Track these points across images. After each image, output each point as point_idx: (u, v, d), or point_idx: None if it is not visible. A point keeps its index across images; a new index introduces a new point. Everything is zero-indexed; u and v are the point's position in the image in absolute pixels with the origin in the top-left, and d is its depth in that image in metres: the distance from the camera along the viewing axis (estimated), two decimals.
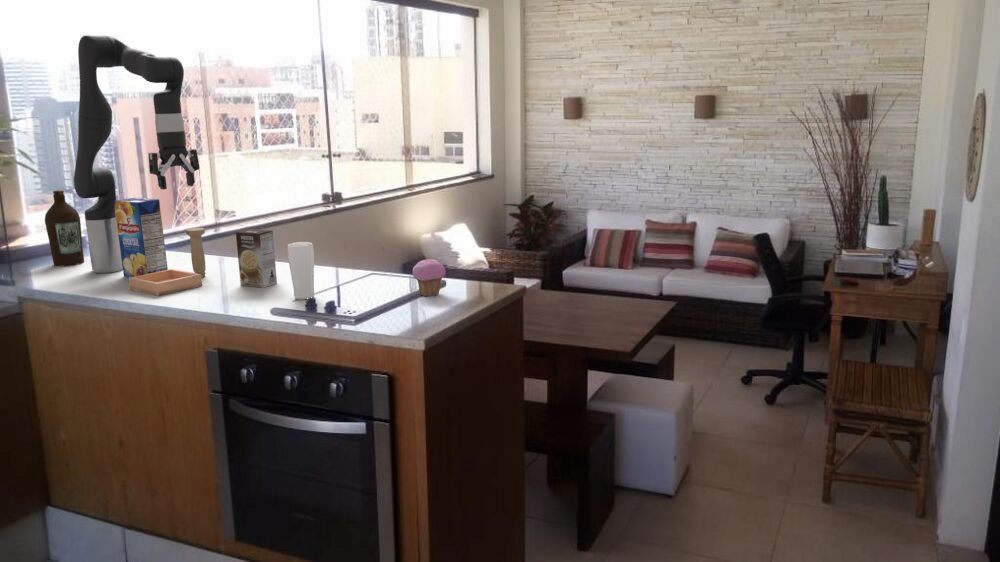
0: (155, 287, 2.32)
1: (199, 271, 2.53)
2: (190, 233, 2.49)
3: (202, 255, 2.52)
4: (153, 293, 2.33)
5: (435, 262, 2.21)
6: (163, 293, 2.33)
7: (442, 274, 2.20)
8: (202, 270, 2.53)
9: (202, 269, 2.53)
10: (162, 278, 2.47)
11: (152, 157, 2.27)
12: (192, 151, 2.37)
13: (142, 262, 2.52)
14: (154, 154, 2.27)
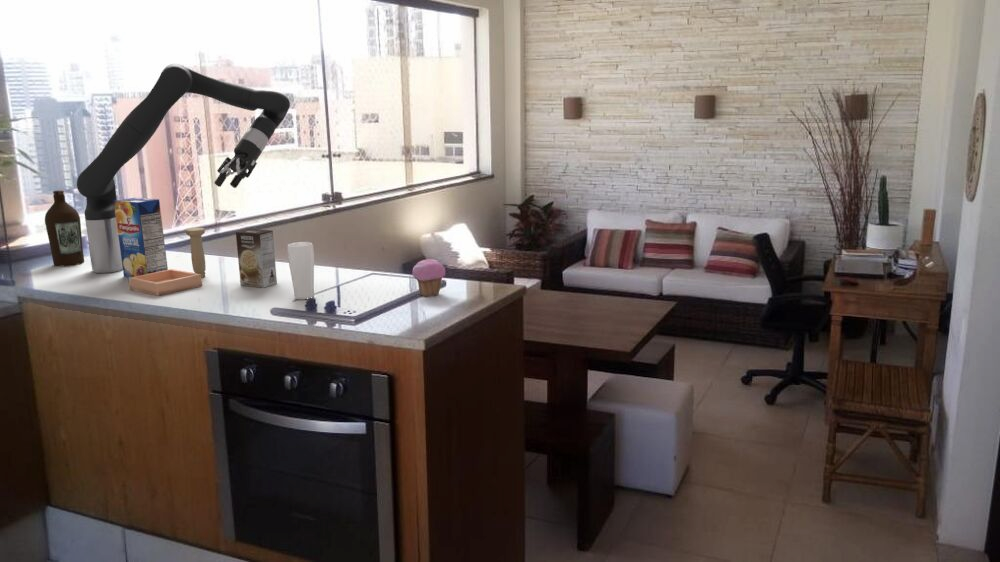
0: (155, 287, 2.32)
1: (199, 271, 2.53)
2: (190, 233, 2.49)
3: (202, 255, 2.52)
4: (153, 293, 2.33)
5: (435, 262, 2.21)
6: (163, 293, 2.33)
7: (442, 274, 2.20)
8: (202, 270, 2.53)
9: (202, 269, 2.53)
10: (162, 278, 2.47)
11: (254, 165, 2.57)
12: None
13: (142, 262, 2.52)
14: None
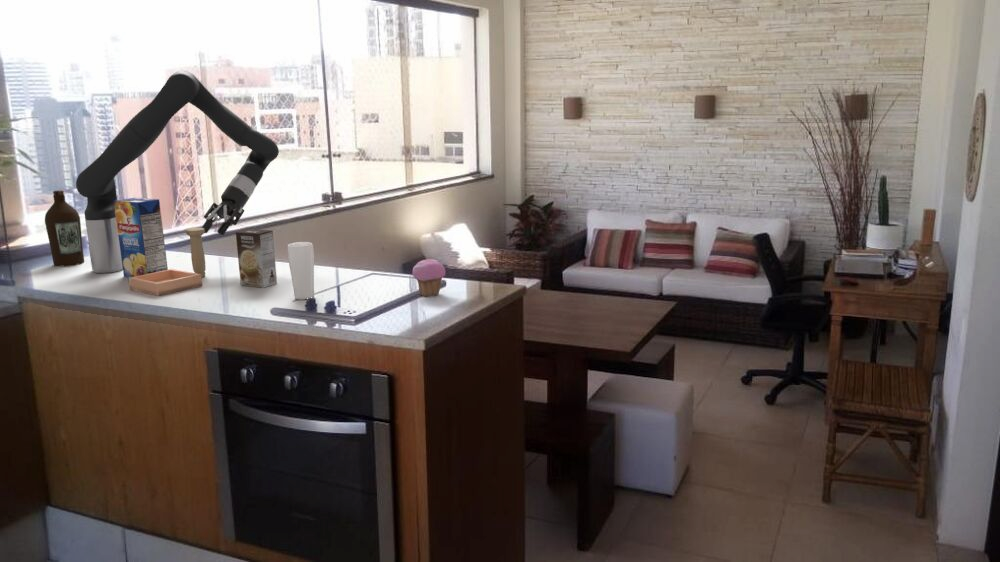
0: (155, 287, 2.32)
1: (199, 271, 2.53)
2: (190, 233, 2.49)
3: (202, 255, 2.52)
4: (153, 293, 2.33)
5: (435, 262, 2.21)
6: (163, 293, 2.33)
7: (442, 274, 2.20)
8: (202, 270, 2.53)
9: (202, 269, 2.53)
10: (162, 278, 2.47)
11: (242, 212, 2.56)
12: None
13: (142, 262, 2.52)
14: None
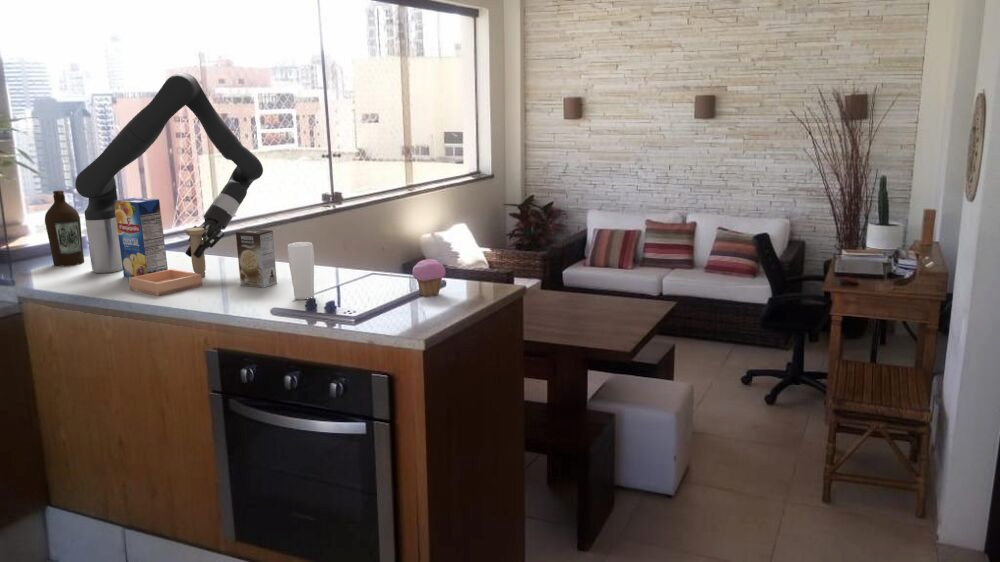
0: (155, 287, 2.32)
1: (199, 271, 2.53)
2: (190, 233, 2.49)
3: (202, 255, 2.52)
4: (153, 293, 2.33)
5: (435, 262, 2.21)
6: (163, 293, 2.33)
7: (442, 274, 2.20)
8: (202, 270, 2.53)
9: (202, 269, 2.53)
10: (162, 278, 2.47)
11: (221, 236, 2.52)
12: None
13: (142, 262, 2.52)
14: None
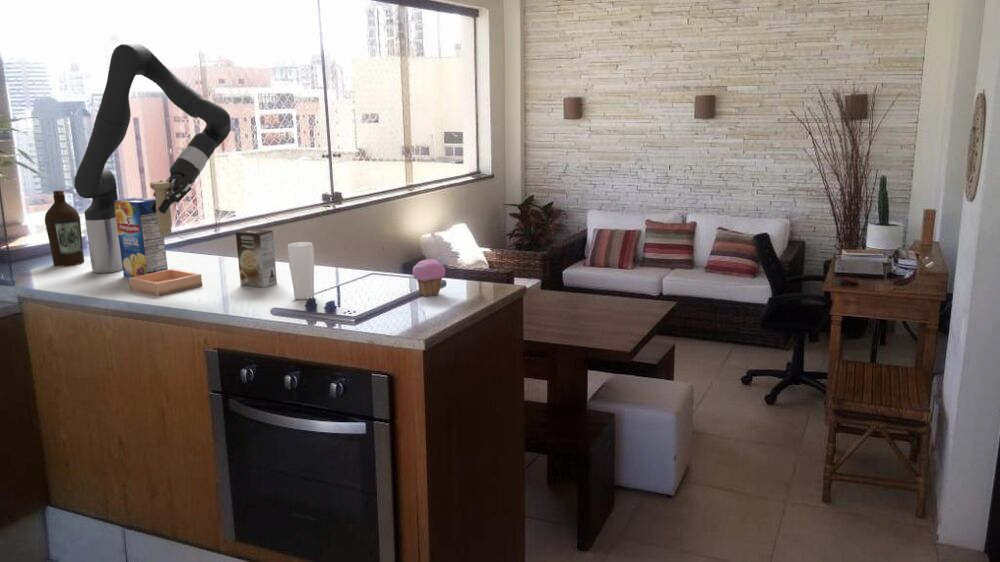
0: (155, 287, 2.32)
1: (165, 228, 2.38)
2: (155, 186, 2.34)
3: (168, 210, 2.38)
4: (153, 293, 2.33)
5: (435, 262, 2.21)
6: (163, 293, 2.33)
7: (442, 274, 2.20)
8: (168, 227, 2.38)
9: (168, 226, 2.38)
10: (162, 278, 2.47)
11: (187, 190, 2.37)
12: None
13: (142, 262, 2.52)
14: None
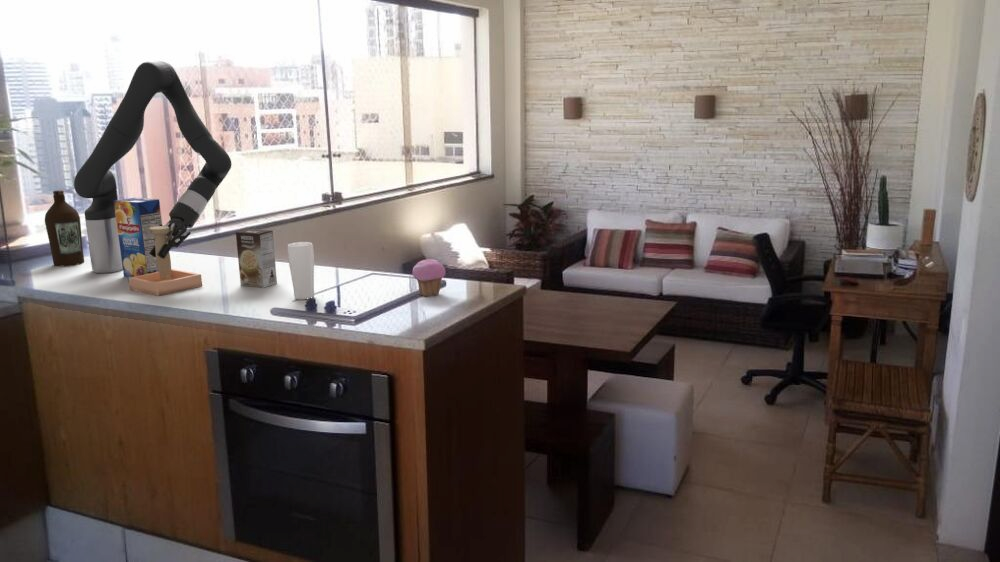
0: (155, 287, 2.32)
1: (164, 272, 2.39)
2: (154, 232, 2.35)
3: (167, 255, 2.39)
4: (153, 293, 2.33)
5: (435, 262, 2.21)
6: (163, 293, 2.33)
7: (442, 274, 2.20)
8: (167, 271, 2.39)
9: (167, 270, 2.39)
10: None
11: (186, 235, 2.38)
12: None
13: (142, 262, 2.52)
14: None
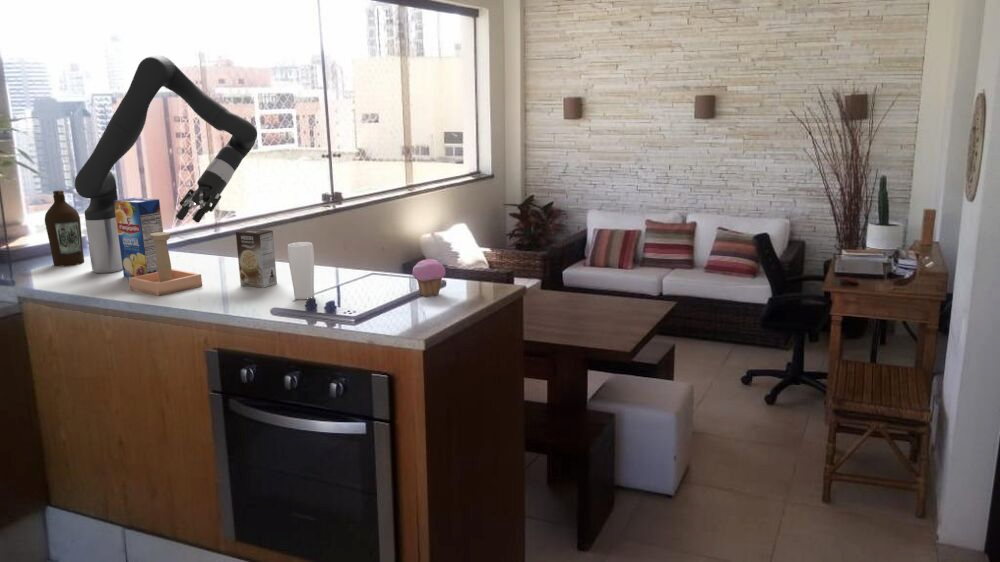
0: (155, 287, 2.32)
1: (165, 278, 2.40)
2: (154, 238, 2.36)
3: (168, 261, 2.39)
4: (153, 293, 2.33)
5: (435, 262, 2.21)
6: (163, 293, 2.33)
7: (442, 274, 2.20)
8: (168, 277, 2.40)
9: (168, 276, 2.40)
10: None
11: (218, 198, 2.44)
12: None
13: (142, 262, 2.52)
14: None
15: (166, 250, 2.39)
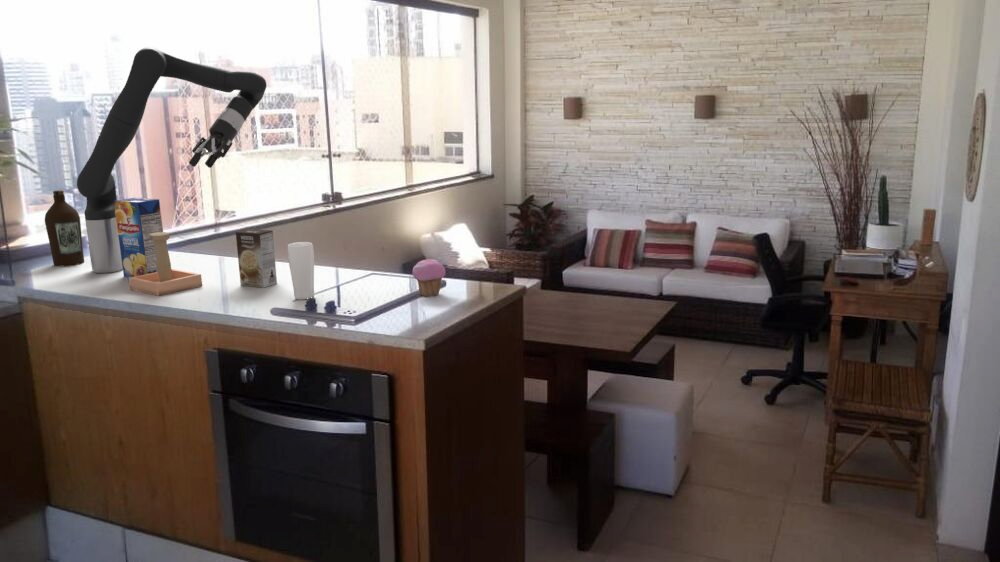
0: (155, 287, 2.32)
1: (164, 278, 2.40)
2: (154, 238, 2.36)
3: (167, 261, 2.39)
4: (153, 293, 2.33)
5: (435, 262, 2.21)
6: (163, 293, 2.33)
7: (442, 274, 2.20)
8: (168, 277, 2.40)
9: (167, 276, 2.40)
10: None
11: (230, 144, 2.55)
12: None
13: (142, 262, 2.52)
14: None
15: (166, 250, 2.39)
